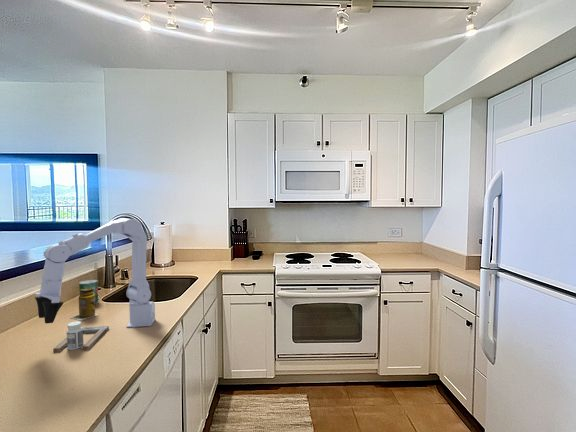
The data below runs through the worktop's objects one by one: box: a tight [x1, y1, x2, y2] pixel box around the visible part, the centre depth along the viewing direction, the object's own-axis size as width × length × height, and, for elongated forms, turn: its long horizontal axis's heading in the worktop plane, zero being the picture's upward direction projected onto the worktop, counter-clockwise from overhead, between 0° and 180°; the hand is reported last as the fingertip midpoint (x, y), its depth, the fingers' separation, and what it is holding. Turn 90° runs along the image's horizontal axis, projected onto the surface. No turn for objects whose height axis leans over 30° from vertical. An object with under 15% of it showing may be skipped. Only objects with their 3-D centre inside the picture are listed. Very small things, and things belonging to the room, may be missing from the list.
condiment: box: [70, 288, 100, 321], centre depth 143 cm, size 7×8×12 cm
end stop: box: [82, 325, 109, 334], centre depth 127 cm, size 11×3×1 cm, turn 99°
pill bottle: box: [66, 320, 84, 351], centre depth 114 cm, size 5×5×8 cm
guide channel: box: [52, 329, 107, 353], centre depth 118 cm, size 11×15×1 cm
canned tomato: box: [78, 279, 99, 305], centre depth 161 cm, size 8×8×11 cm
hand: (45, 320), depth 111 cm, fingers open, 7 cm apart
